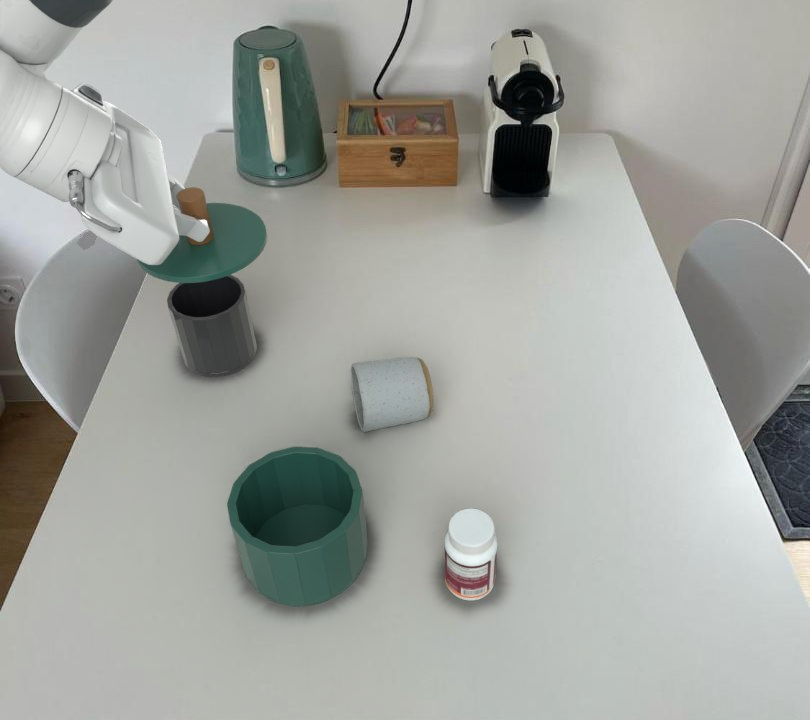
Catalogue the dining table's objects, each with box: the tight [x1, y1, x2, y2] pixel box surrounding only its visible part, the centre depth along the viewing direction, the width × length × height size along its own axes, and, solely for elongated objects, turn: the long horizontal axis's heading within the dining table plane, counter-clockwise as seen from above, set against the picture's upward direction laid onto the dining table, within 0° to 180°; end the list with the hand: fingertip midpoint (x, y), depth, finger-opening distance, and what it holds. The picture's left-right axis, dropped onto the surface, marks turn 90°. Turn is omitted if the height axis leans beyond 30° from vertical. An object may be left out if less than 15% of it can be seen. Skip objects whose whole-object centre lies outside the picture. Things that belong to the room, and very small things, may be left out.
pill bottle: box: [443, 507, 499, 601], centre depth 73 cm, size 5×5×8 cm
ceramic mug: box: [350, 356, 434, 433], centre depth 90 cm, size 11×8×8 cm
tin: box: [226, 446, 369, 607], centre depth 76 cm, size 12×12×8 cm
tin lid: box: [136, 186, 268, 284], centre depth 79 cm, size 13×13×6 cm
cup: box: [166, 274, 258, 378], centre depth 98 cm, size 9×9×9 cm
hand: (203, 221), depth 80 cm, fingers closed on tin lid, 2 cm apart
